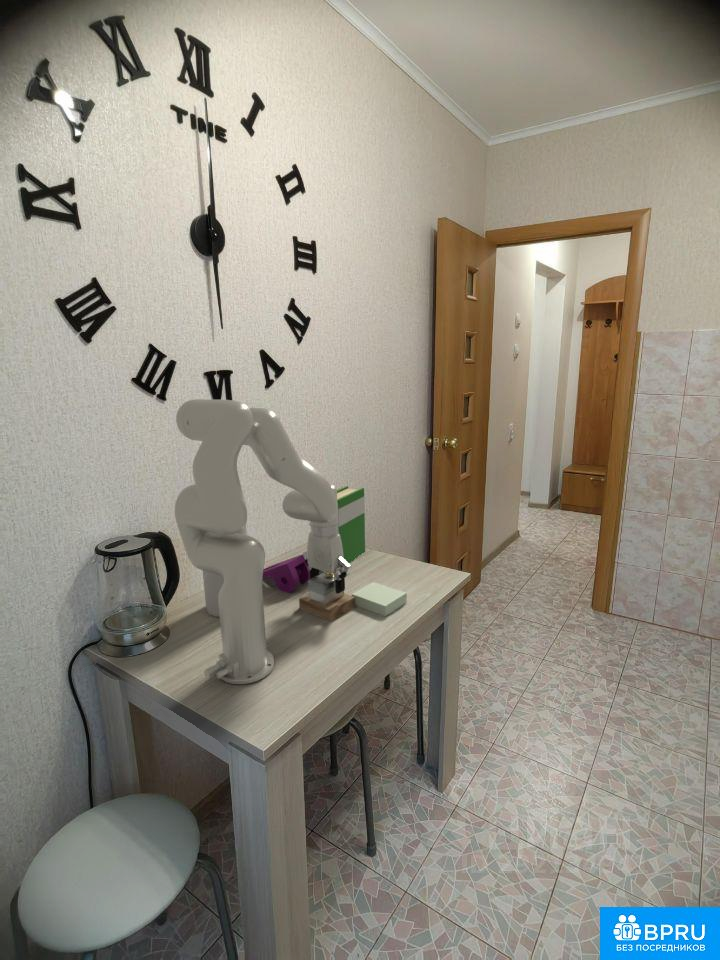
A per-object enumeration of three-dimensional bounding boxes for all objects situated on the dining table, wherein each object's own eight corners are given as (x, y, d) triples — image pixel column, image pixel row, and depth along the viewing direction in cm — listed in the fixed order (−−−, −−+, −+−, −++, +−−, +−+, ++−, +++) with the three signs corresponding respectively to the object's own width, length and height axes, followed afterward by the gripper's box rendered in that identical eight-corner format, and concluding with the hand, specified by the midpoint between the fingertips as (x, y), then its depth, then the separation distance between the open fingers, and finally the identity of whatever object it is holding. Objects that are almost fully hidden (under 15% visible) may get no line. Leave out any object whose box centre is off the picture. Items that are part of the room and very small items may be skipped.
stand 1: (330, 621, 131) (330, 610, 130) (299, 607, 138) (299, 598, 137) (354, 606, 138) (354, 597, 137) (324, 595, 146) (323, 585, 145)
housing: (324, 606, 133) (323, 582, 131) (309, 599, 136) (308, 576, 135) (344, 595, 139) (343, 572, 137) (328, 589, 142) (328, 567, 141)
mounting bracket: (258, 601, 155) (298, 589, 145) (248, 577, 155) (286, 563, 145) (277, 590, 163) (316, 577, 153) (267, 566, 163) (306, 553, 153)
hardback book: (347, 548, 182) (346, 486, 177) (365, 551, 179) (364, 488, 173) (321, 565, 167) (319, 497, 162) (340, 569, 164) (338, 500, 158)
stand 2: (385, 616, 133) (385, 606, 132) (351, 603, 140) (351, 593, 139) (406, 602, 140) (406, 592, 139) (373, 591, 148) (373, 581, 147)
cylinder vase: (236, 593, 148) (230, 514, 142) (260, 606, 139) (254, 522, 134) (198, 608, 139) (189, 524, 133) (221, 623, 131) (213, 534, 125)
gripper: (292, 526, 136) (296, 583, 140) (339, 539, 125) (341, 601, 129) (311, 519, 141) (314, 574, 145) (358, 531, 130) (359, 590, 135)
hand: (327, 586), depth 137 cm, fingers open, 9 cm apart
